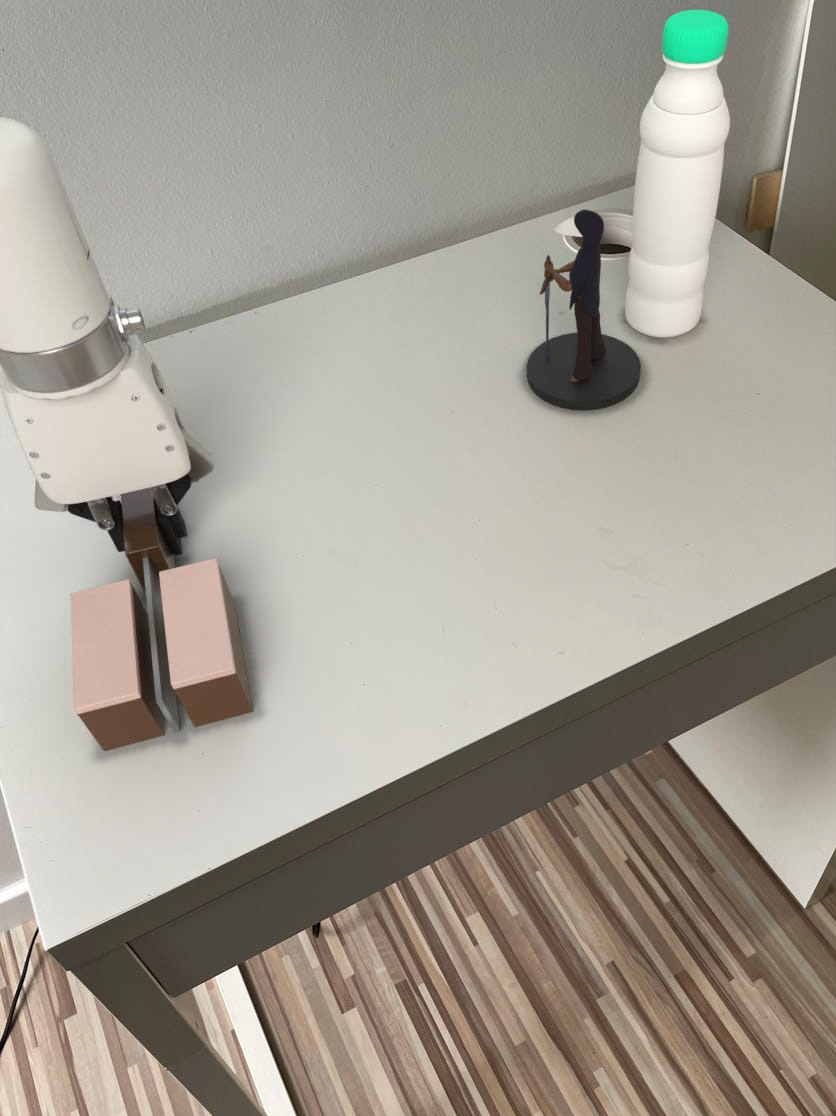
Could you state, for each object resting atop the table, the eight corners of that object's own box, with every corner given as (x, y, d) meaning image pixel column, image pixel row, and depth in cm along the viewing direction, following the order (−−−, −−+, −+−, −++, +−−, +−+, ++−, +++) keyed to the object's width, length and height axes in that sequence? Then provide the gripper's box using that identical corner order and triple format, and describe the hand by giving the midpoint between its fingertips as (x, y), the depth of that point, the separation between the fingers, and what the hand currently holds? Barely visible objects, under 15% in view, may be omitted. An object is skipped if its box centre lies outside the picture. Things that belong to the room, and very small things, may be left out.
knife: (138, 514, 75) (118, 472, 71) (168, 507, 75) (150, 465, 72) (159, 737, 62) (136, 699, 58) (195, 727, 62) (174, 689, 59)
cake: (98, 638, 68) (70, 592, 64) (235, 604, 69) (216, 557, 65) (103, 752, 62) (73, 709, 58) (253, 712, 63) (234, 667, 59)
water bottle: (679, 349, 85) (721, 44, 65) (610, 327, 87) (631, 27, 68) (712, 310, 88) (762, 8, 69) (645, 290, 91) (674, -6, 71)
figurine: (552, 331, 88) (554, 170, 76) (655, 354, 85) (674, 191, 73) (508, 394, 82) (503, 231, 70) (616, 421, 79) (629, 256, 67)
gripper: (185, 285, 61) (253, 491, 76) (-71, 336, 59) (50, 538, 73) (196, 350, 57) (266, 556, 71) (-80, 408, 54) (50, 608, 69)
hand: (155, 545), depth 72 cm, fingers closed on knife, 2 cm apart
